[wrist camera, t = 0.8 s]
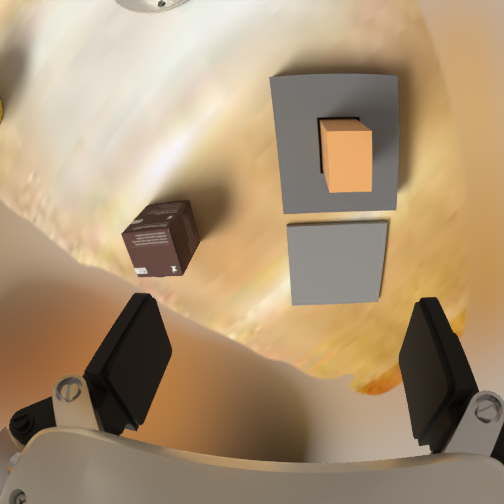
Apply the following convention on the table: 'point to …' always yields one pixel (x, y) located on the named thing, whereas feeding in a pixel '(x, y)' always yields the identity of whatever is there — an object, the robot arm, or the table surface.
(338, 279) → the mat
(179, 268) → the box
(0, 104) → the plant pot
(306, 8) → the table surface
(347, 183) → the plug
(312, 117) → the socket block
